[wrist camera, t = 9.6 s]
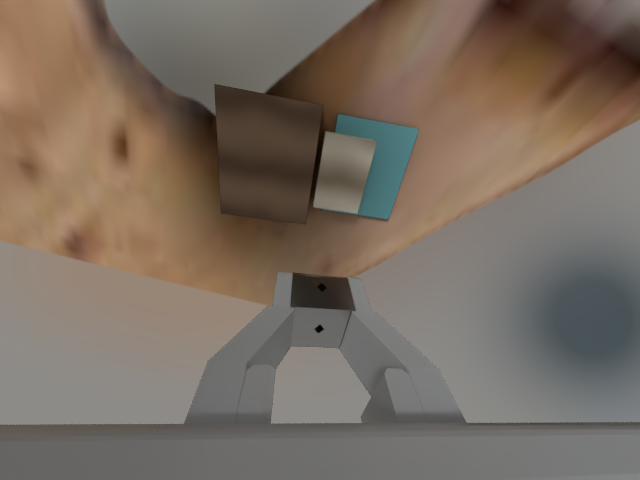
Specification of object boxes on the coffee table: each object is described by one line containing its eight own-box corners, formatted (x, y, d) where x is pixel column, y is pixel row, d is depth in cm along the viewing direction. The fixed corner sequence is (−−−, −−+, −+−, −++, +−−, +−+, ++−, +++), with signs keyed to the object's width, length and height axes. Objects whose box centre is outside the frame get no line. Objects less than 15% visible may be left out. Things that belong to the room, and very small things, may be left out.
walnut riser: (222, 86, 25) (214, 84, 23) (321, 105, 26) (323, 105, 24) (227, 206, 31) (221, 213, 29) (305, 216, 33) (305, 224, 31)
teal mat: (338, 113, 27) (338, 113, 26) (417, 129, 28) (419, 129, 27) (321, 208, 32) (321, 210, 32) (387, 218, 33) (388, 219, 33)
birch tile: (324, 130, 27) (325, 132, 25) (372, 139, 28) (377, 141, 26) (312, 201, 31) (313, 207, 30) (354, 208, 32) (357, 213, 30)
